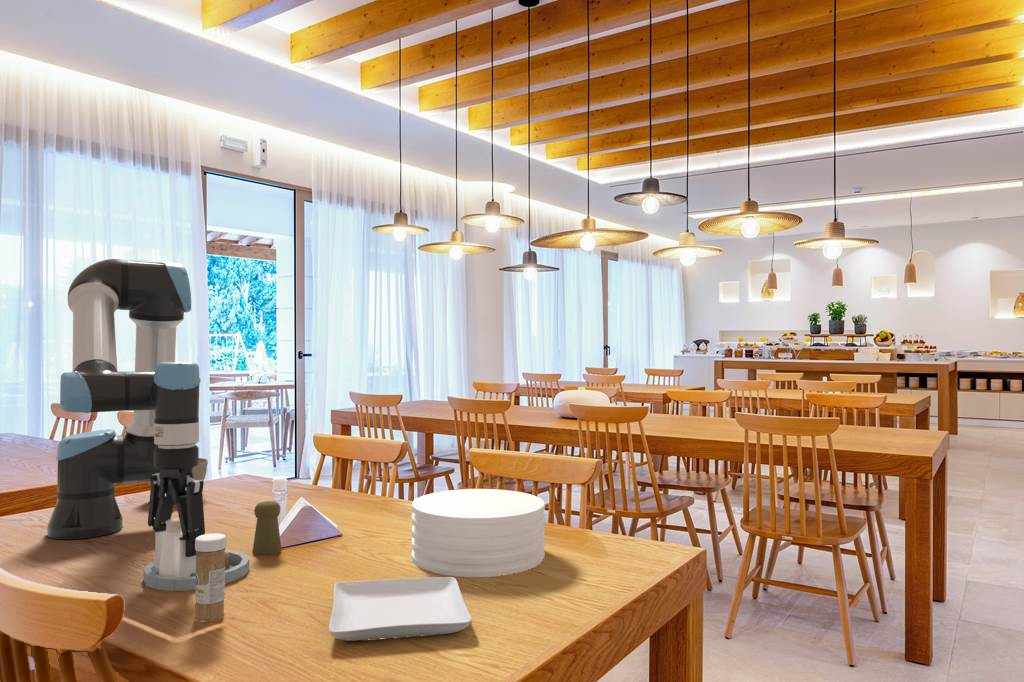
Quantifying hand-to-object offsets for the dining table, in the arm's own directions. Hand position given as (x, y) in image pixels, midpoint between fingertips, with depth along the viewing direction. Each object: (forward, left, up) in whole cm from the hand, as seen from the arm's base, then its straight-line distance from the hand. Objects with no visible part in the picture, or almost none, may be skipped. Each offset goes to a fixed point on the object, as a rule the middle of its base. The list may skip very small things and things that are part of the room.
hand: (175, 569), depth 129 cm
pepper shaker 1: (0, 0, -2) cm, 2 cm away
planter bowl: (-68, +40, -3) cm, 79 cm away
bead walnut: (+4, +6, -2) cm, 8 cm away
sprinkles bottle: (+21, -7, -3) cm, 22 cm away
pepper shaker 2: (-2, +21, -3) cm, 22 cm away
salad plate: (+45, +11, -3) cm, 47 cm away
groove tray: (0, +4, -3) cm, 5 cm away
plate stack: (+35, +46, -3) cm, 58 cm away
